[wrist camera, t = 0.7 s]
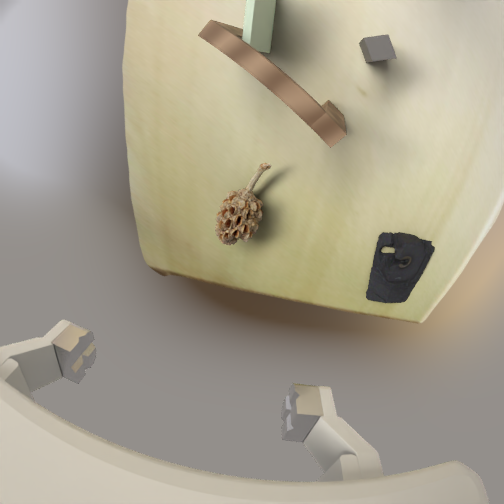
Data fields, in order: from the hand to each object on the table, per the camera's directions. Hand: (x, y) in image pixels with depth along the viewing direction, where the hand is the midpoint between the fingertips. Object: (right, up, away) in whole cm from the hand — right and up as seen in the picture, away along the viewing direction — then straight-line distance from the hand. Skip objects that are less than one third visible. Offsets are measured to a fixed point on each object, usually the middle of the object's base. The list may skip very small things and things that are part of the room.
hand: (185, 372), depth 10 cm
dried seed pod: (+2, +18, +52) cm, 55 cm away
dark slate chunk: (+39, +1, +53) cm, 65 cm away
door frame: (+10, +37, +33) cm, 50 cm away
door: (+5, +46, +27) cm, 53 cm away
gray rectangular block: (+24, +40, +25) cm, 53 cm away
